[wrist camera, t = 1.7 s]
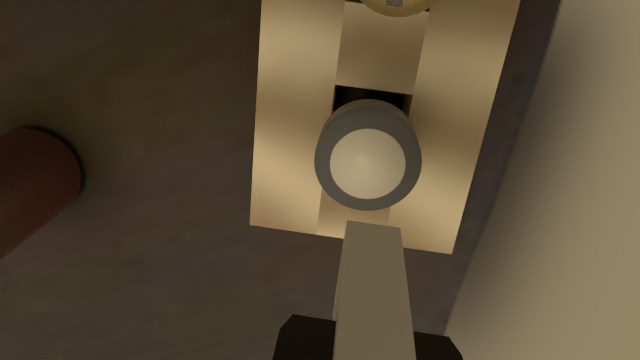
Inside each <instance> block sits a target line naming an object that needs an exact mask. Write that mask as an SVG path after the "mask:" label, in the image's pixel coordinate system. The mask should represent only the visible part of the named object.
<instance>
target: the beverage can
mask: <svg viewBox="0 0 640 360" xmlns="http://www.w3.org/2000/svg"><path fill="white" fill-rule="evenodd" d="M80 185H81V173H80V168H79V165H78V162H77V160H76V158H75V156H74V155H73V153H72V152H71V151H70V149H69V148H68V147H67V146H66V145H65V144H64V143H63V142H61V141H60V140H59V139H57V138H55V137H54V136H52V135H50V134H47V133H45V132H42V131H38V130H34V129H27V128H21V129H14V130H11V131H9V132H6V133H4V134H2V135H0V260H1V259H2V258H4V257H5V256H6V255H7V254H9V253H10V252H11V251H13V250H14V249H15V248H16V247H18V246H19V245H20V244H21V243H23V242H24V241H25V240H26V239H28V238H29V237H30V236H31V235H33V234H34V233H35V232H36V231H38V230H39V229H40V228H41V227H43V226H44V225H45V224H47V223H48V222H49V221H50V220H52V219H53V218H54V217H55V216H57V215H58V214H59V213H60V212H62V211H63V210H64V209H65V208H67V207H68V206H69V205H70V204H72V203H73V202H74V200H75V199H76V198H77V196H78V193H79V190H80Z"/></svg>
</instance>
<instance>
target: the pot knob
mask: <svg viewBox="0 0 640 360" xmlns="http://www.w3.org/2000/svg"><path fill="white" fill-rule="evenodd" d="M360 1H361V2H362V3H363V4H365V5H366V6H367V7H368V8H370V9H371V10H373V11H375V12H377V13H379V14H381V15H384V16H389V17H408V16H412V15H415V14H418V13H420V12H422V11H424V10H426V9H428V8H429V7H431V6H432V5H434V4H435V3H436V2H437V1H438V0H360Z"/></svg>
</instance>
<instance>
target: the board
mask: <svg viewBox="0 0 640 360" xmlns="http://www.w3.org/2000/svg"><path fill="white" fill-rule="evenodd" d="M520 1H521V0H438V1H437V2H436V3H435V4H434V5H432V6H431V7H429V8H428V9H426V10H424V11H422V12H420V13H418V14H415V15H412V16H408V17H389V16H384V15H381V14H379V13H377V12H375V11H373V10H371V9H370V8H368V7H367V6H366V5H365V4H363V3H362V2H361V1H360V0H262V7H261V26H260V44H259V63H258V81H257V100H256V118H255V137H254V155H253V174H252V192H251V211H250V225H254V226H261V227H268V228H275V229H282V230H289V231H295V232H302V233H309V234H316V235H323V236H330V237H337V238H344V235H345V229H346V222H347V220H350V221H357V222H364V223H371V224H378V225H385V226H392V227H399V228H400V229H401V237H402V246H403V247H405V248H412V249H419V250H426V251H433V252H440V253H447V254H452V251H453V247H454V243H455V240H456V236H457V232H458V229H459V225H460V221H461V218H462V214H463V210H464V207H465V203H466V199H467V196H468V192H469V188H470V185H471V181H472V177H473V174H474V170H475V166H476V163H477V159H478V155H479V152H480V148H481V144H482V141H483V137H484V133H485V129H486V126H487V122H488V118H489V115H490V111H491V107H492V104H493V100H494V96H495V93H496V89H497V85H498V82H499V78H500V74H501V71H502V67H503V63H504V60H505V56H506V52H507V49H508V45H509V41H510V38H511V34H512V30H513V27H514V23H515V19H516V16H517V12H518V8H519V5H520ZM337 85H343V86H350V87H358V88H365V89H373V90H381V91H388V92H396V93H403V94H405V97H404V103H403V108H402V112H403V113H404V114H405V115H406V116H407V117H408V118H409V120H410V121H411V123H412V125H413V127H414V129H415V132H416V135H417V139H418V142H419V146H420V149H421V155H422V167H421V173H420V176H419V179H418V181H417V183H416V185H415V186H414V188H413V189H412V191H411V192H410V193H409V194H408V195H407V196H406V197H405V198H404V199H402V200H401V201H400V202H398V203H396V204H394V205H393V206H390V207H388V208H385V209H381V210H375V211H361V210H355V209H351V208H348V207H346V206H344V205H341V204H340V203H338V202H336V201H335V200H334V199H332V198H331V197H330V196H329V195H328V194H327V193H326V192H325V191H324V189H323V188H322V186H321V185H320V183H319V181H318V178H317V176H316V172H315V167H314V156H315V150H316V147H317V143H318V140H319V136H320V133H321V130H322V128H323V126H324V124H325V122H326V121H327V119H328V118H329V117H330V116H331V114H332V113H334V106H335V98H336V90H337Z"/></svg>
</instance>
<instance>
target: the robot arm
mask: <svg viewBox="0 0 640 360" xmlns="http://www.w3.org/2000/svg"><path fill="white" fill-rule="evenodd" d="M272 360H463V358H462V355H461V354H460V352H459V351H458V349H457V348H456V346H455V345H454V344H453V343H452V341H451V340H450V338H449V337H447V336H440V335H434V334H427V333H421V332H414V331H413V328H412V320H411V312H410V303H409V295H408V287H407V279H406V270H405V262H404V254H403V246H402V237H401V229H400V228H399V227H392V226H385V225H378V224H371V223H364V222H357V221H350V220H347V222H346V229H345V235H344V242H343V248H342V255H341V261H340V268H339V274H338V281H337V287H336V294H335V302H334V311H333V320H326V319H320V318H313V317H307V316H300V315H294V314H293V315H292V316H291V317H290V318H289V319H288V321H287V322H286V323H285V324H284V325H283V326H282V327H281V328H280V331H279V335H278V339H277V343H276V347H275V351H274V355H273V359H272Z"/></svg>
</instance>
